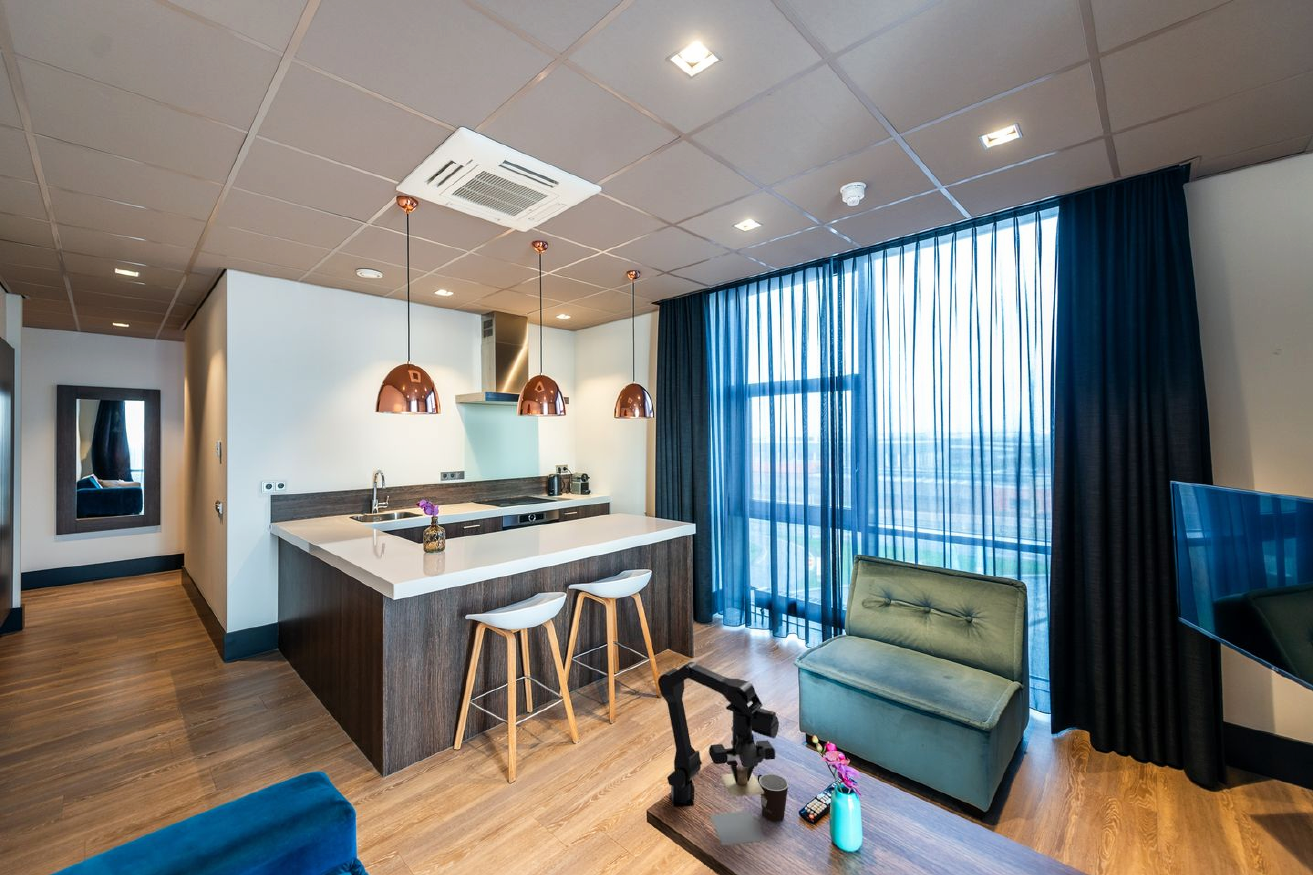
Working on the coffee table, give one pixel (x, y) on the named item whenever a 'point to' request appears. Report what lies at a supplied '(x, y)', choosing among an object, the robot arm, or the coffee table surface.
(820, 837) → the coffee table surface
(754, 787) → the lid
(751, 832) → the mat
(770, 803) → the coffee mug
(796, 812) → the coffee table surface
